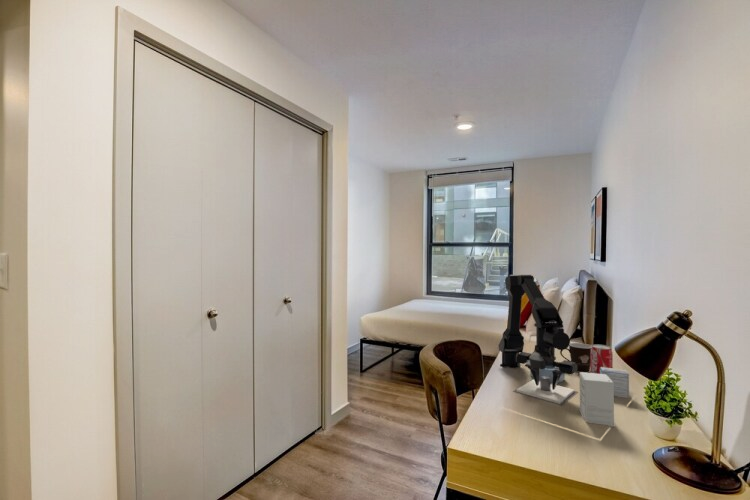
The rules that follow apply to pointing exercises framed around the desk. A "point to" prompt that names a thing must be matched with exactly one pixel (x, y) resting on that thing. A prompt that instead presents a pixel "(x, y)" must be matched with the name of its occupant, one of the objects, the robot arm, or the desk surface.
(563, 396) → the lid
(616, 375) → the medicine box
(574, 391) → the mat
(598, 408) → the supplement box
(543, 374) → the bowl
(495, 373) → the desk surface
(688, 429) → the desk surface
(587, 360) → the coffee mug
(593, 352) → the soda can
